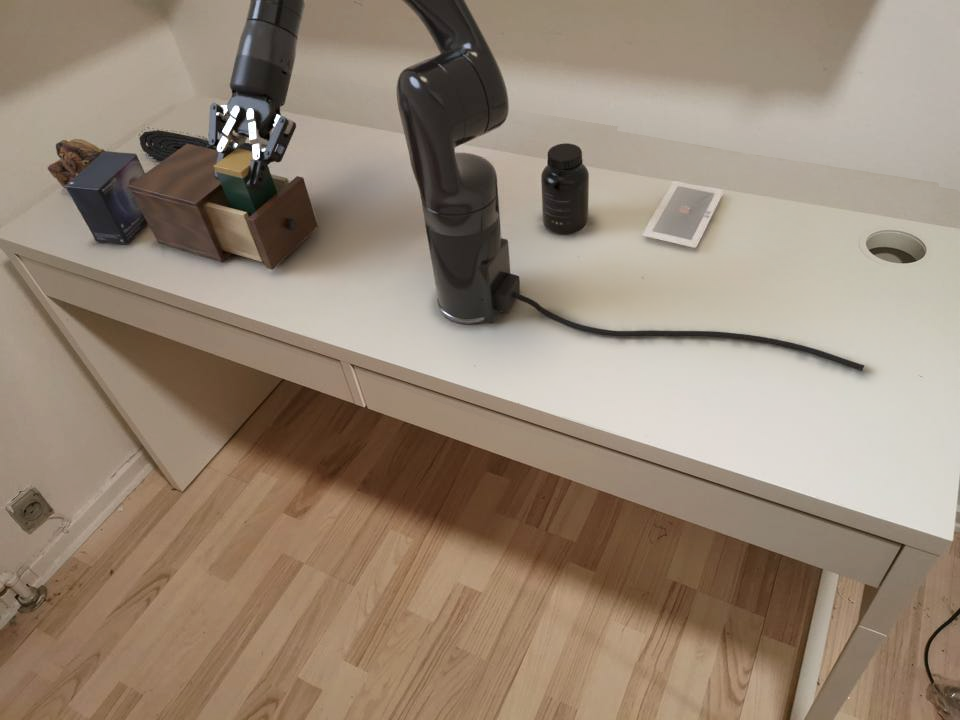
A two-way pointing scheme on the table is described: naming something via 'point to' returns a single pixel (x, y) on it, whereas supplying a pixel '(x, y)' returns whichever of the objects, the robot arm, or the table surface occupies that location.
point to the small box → (109, 197)
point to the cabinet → (181, 201)
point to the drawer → (264, 223)
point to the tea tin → (243, 182)
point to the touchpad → (683, 214)
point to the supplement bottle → (565, 190)
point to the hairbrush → (173, 143)
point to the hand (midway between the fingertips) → (237, 184)
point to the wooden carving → (72, 159)
